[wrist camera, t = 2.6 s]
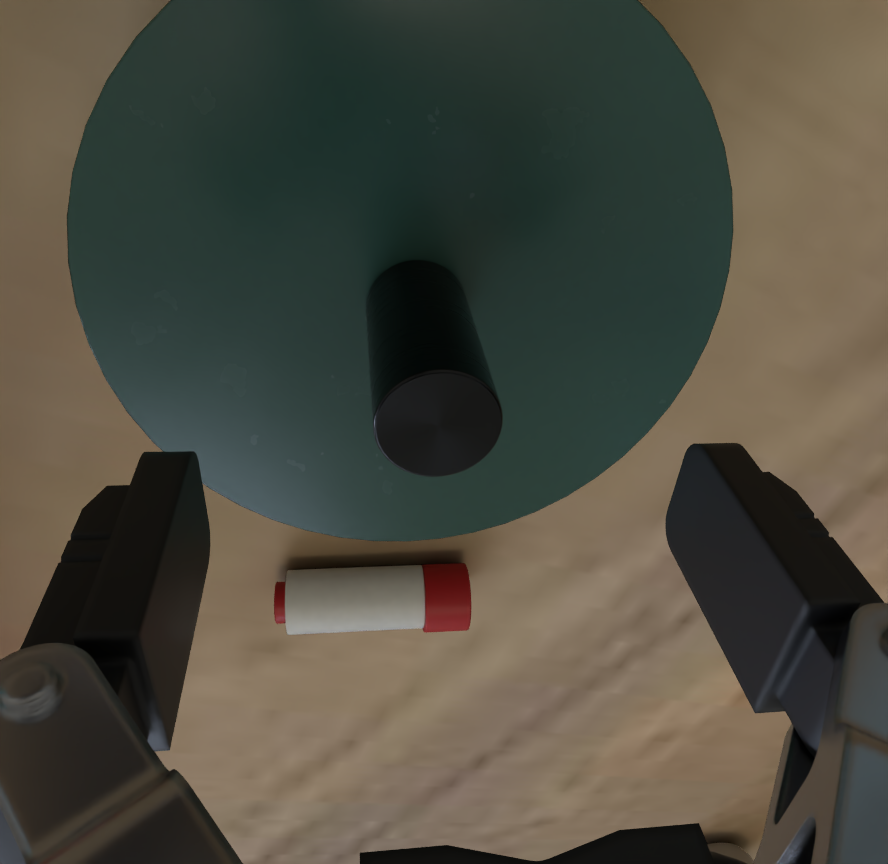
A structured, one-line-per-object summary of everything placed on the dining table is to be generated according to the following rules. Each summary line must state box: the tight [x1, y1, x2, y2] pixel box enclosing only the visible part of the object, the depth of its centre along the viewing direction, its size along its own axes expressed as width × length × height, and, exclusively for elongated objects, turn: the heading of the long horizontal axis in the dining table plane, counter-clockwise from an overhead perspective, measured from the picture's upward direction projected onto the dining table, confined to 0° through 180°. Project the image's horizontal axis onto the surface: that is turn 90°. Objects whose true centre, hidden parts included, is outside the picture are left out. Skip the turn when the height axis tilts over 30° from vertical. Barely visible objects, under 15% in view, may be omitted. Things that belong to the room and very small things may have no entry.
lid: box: [67, 0, 733, 541], centre depth 16 cm, size 15×15×6 cm
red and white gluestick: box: [274, 563, 471, 635], centre depth 33 cm, size 8×3×3 cm, turn 86°
